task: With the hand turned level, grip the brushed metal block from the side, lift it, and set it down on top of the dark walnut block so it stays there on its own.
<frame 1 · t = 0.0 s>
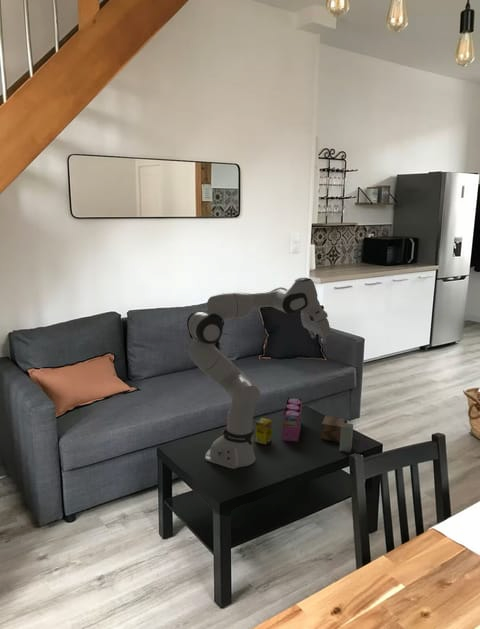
hand: (319, 340, 230), 52 cm above the table, tool tilted 20°, fingers open, 8 cm apart
gum box: (292, 431, 257), on the table
supplement box: (263, 442, 245), on the table
brushed metal block: (345, 449, 239), on the table
walnut block: (332, 436, 253), on the table
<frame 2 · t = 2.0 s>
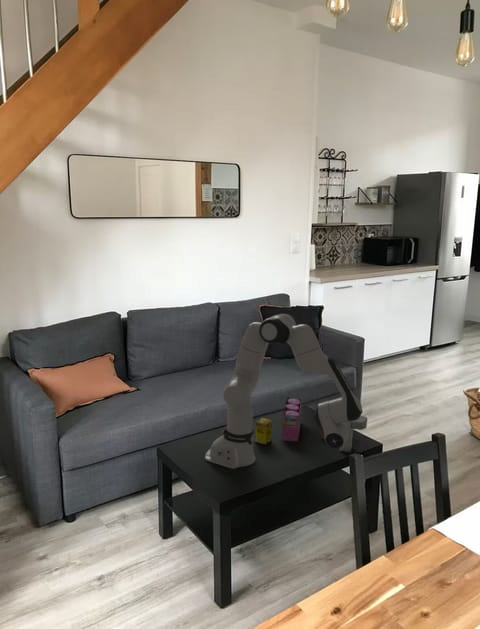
hand: (344, 413, 224), 22 cm above the table, tool horizontal, fingers open, 8 cm apart
nothing on the table moved.
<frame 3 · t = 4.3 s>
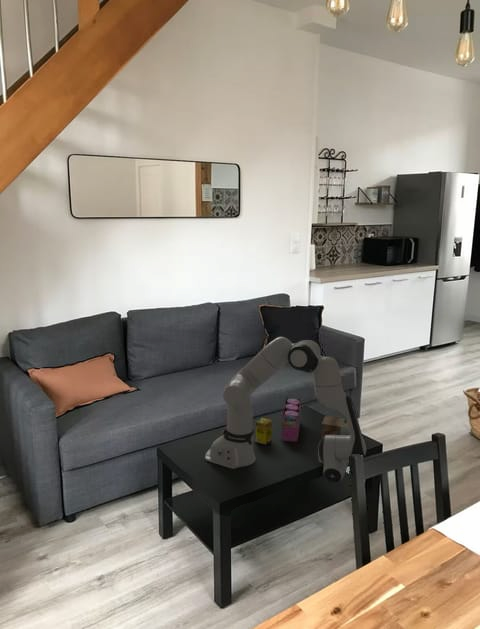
hand: (343, 444, 230), 6 cm above the table, tool horizontal, fingers open, 8 cm apart
nothing on the table moved.
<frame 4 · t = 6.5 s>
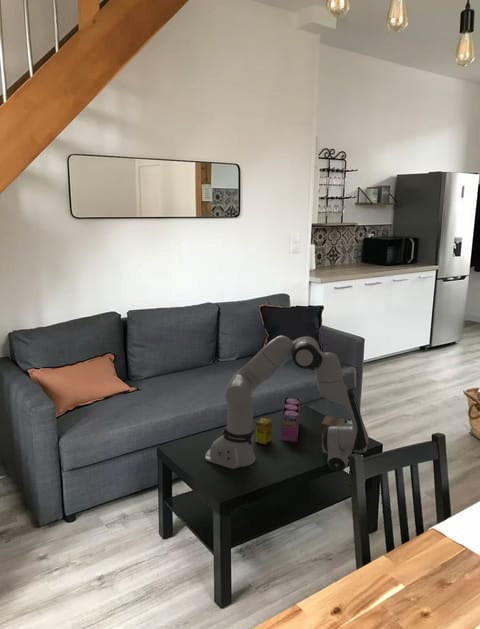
hand: (346, 435, 238), 7 cm above the table, tool horizontal, fingers closed on brushed metal block, 5 cm apart
brushed metal block: (345, 449, 239), on the table, touching gripper
everything else where it was.
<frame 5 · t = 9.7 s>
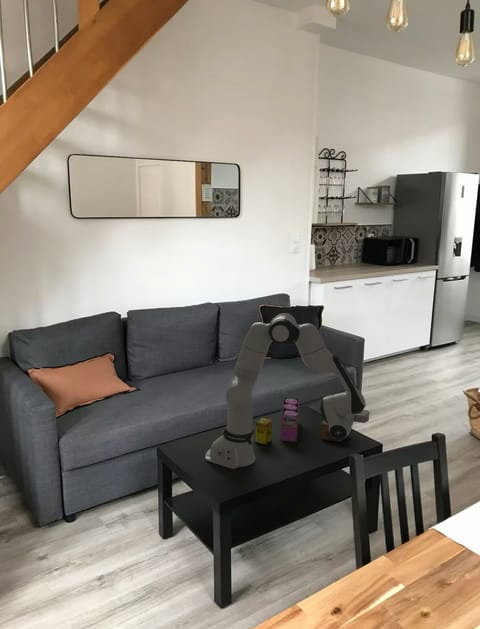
hand: (348, 406, 235), 21 cm above the table, tool horizontal, fingers closed on brushed metal block, 5 cm apart
brushed metal block: (346, 420, 236), point 14 cm above the table, touching gripper
when the fingers open (16 cm above the table, at t = 13.2 s): brushed metal block drops 2 cm, point 8 cm above the table.
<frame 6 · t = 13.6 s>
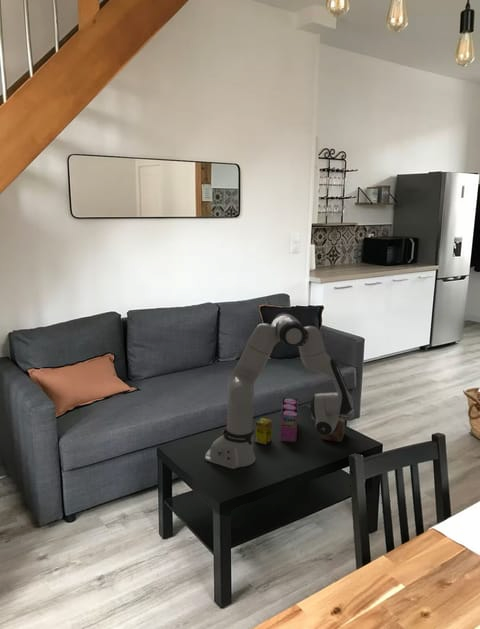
hand: (334, 405, 250), 16 cm above the table, tool horizontal, fingers open, 8 cm apart
brushed metal block: (333, 421, 251), point 8 cm above the table
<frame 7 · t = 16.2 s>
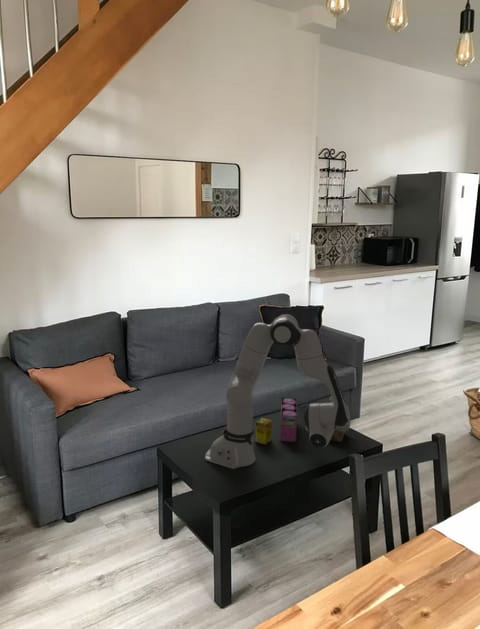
hand: (330, 414, 238), 16 cm above the table, tool horizontal, fingers open, 8 cm apart
brushed metal block: (333, 421, 250), point 8 cm above the table, touching walnut block
walnut block: (332, 436, 253), on the table, touching brushed metal block
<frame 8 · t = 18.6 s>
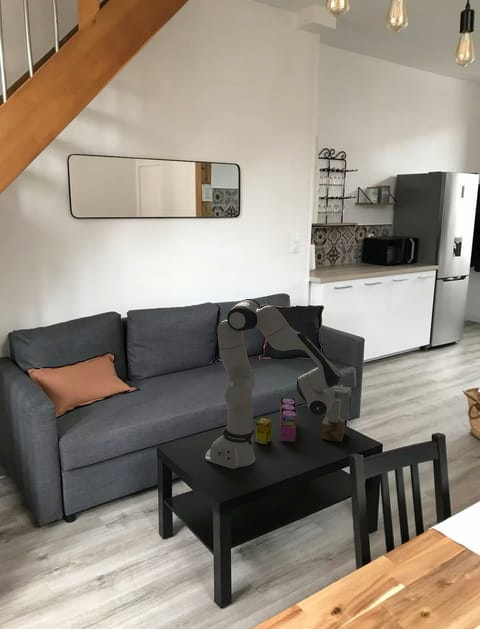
hand: (330, 384, 231), 32 cm above the table, tool horizontal, fingers open, 8 cm apart
brushed metal block: (333, 421, 250), point 8 cm above the table
walnut block: (332, 436, 253), on the table
at the end: brushed metal block inside the target area on the walnut block (0.4 cm from its centre), point 8.0 cm above the walnut block's base; brushed metal block tilted 0°; the gripper is holding nothing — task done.
